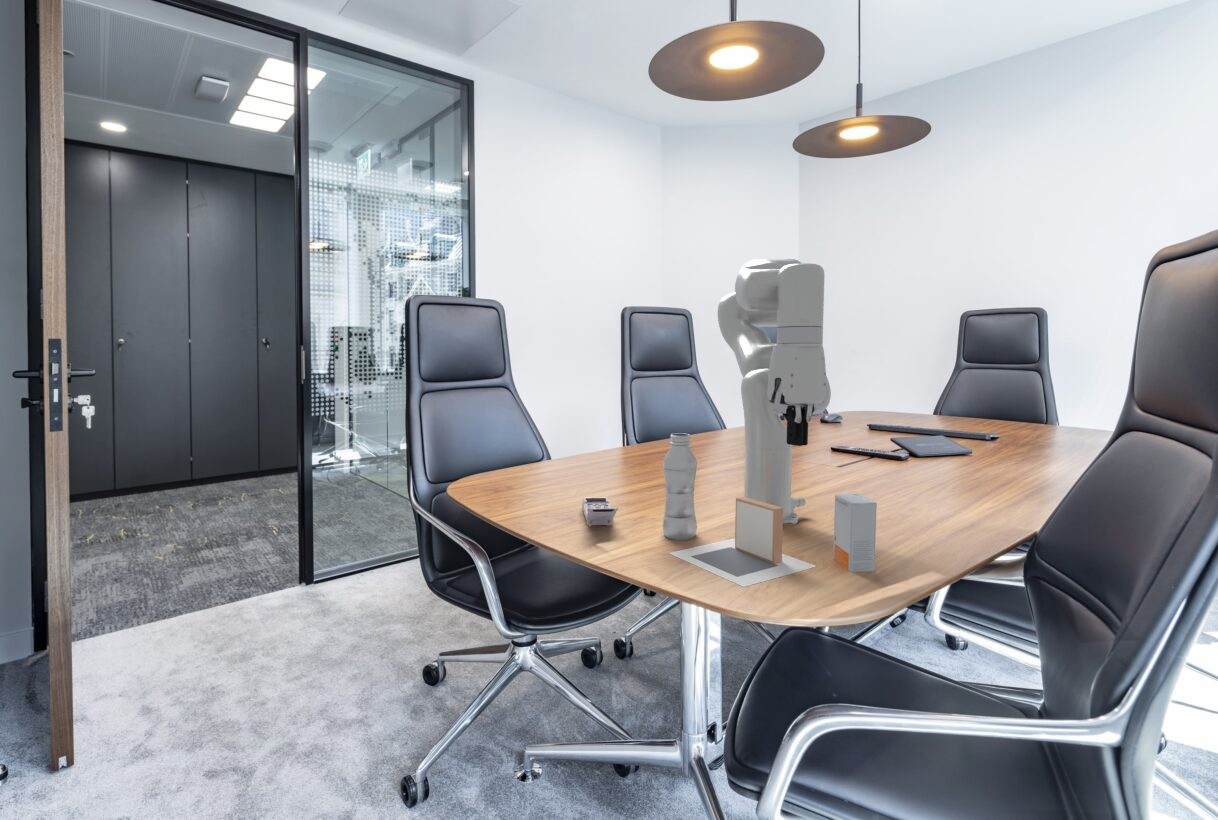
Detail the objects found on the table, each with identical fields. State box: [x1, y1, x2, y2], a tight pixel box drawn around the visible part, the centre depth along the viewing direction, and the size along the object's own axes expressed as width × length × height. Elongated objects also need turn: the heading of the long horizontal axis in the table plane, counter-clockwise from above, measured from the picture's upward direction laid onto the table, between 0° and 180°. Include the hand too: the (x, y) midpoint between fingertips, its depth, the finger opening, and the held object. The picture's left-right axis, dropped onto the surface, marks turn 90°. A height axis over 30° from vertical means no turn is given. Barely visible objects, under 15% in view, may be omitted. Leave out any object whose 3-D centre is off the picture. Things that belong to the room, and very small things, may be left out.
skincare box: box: [832, 493, 878, 573], centre depth 98 cm, size 6×4×12 cm
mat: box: [668, 537, 818, 588], centre depth 102 cm, size 16×18×1 cm
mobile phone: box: [582, 496, 619, 526], centre depth 130 cm, size 6×6×25 cm
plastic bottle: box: [661, 432, 698, 541], centre depth 114 cm, size 6×7×20 cm
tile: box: [734, 496, 784, 564], centre depth 103 cm, size 2×9×9 cm, turn 32°
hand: (797, 444), depth 107 cm, fingers closed
